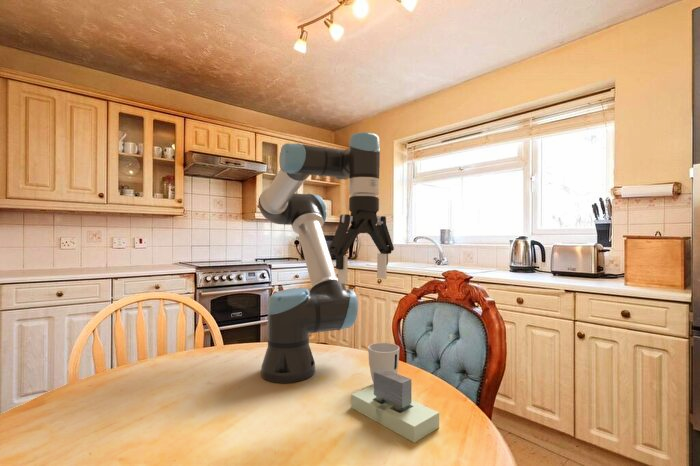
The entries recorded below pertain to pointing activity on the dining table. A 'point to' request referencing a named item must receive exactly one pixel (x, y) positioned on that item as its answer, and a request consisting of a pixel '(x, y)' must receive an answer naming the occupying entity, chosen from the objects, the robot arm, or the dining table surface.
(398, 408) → the grey foam block
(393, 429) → the block with rectangular hole
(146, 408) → the dining table surface
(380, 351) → the cup
